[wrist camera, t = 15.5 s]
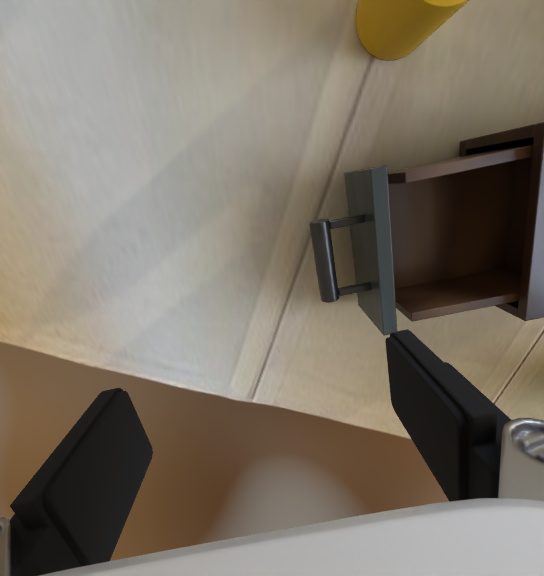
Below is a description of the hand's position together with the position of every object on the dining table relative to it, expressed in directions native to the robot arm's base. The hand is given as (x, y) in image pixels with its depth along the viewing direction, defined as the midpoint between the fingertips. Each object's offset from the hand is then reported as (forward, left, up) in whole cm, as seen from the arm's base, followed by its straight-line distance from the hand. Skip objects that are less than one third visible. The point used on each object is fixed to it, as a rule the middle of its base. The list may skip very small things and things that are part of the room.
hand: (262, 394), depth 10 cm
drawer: (+15, 0, -20) cm, 25 cm away
